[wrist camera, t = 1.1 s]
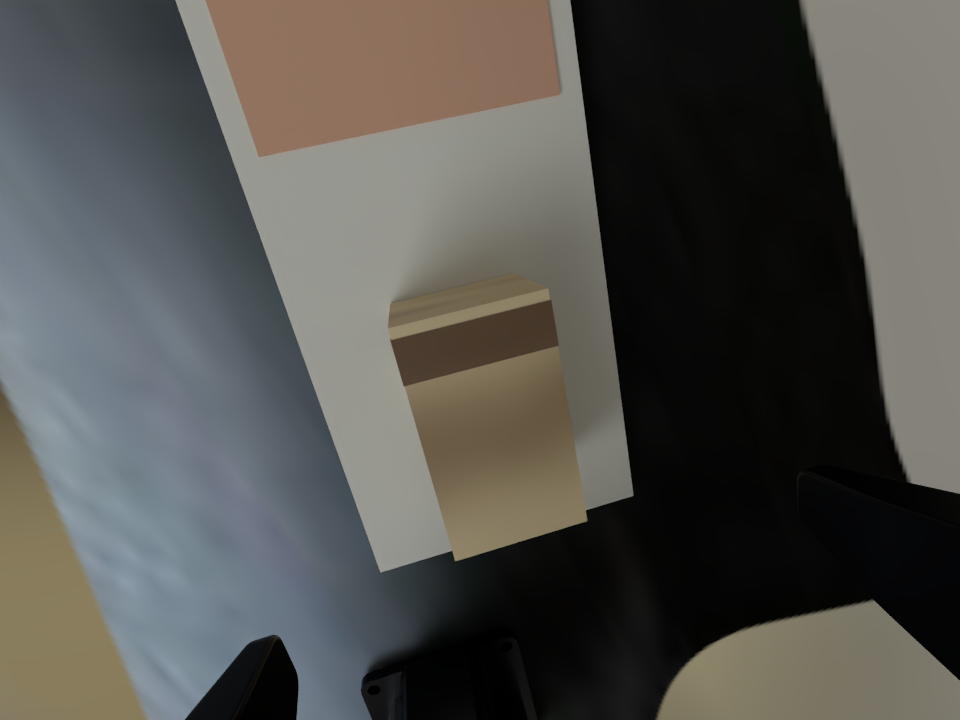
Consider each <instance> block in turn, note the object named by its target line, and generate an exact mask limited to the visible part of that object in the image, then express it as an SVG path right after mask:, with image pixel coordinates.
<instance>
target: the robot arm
mask: <svg viewBox="0 0 960 720" xmlns="http://www.w3.org/2000/svg"><path fill="white" fill-rule="evenodd" d="M797 511H798V515H799V517H800V519H801V520H802V522H803V523H804V525H805V526H806V527H807V528H808V529H809V530H810V531H811V533H812V534H813V535H814V536H815V537H816V538H817V539H818V540H819V541H820V542H821V543H822V544H823V546H824V547H825V548H826V549H827V550H828V551H829V552H830V553H831V554H832V555H833V556H834V558H835V559H836V560H837V561H838V562H839V563H840V564H841V565H842V566H843V567H844V568H845V569H846V571H847V572H848V573H849V574H850V575H851V576H852V577H853V578H854V579H855V580H856V581H857V583H858V584H859V585H860V586H861V587H862V588H863V589H864V590H865V591H866V592H867V593H868V594H869V595H870V596H871V597H872V598H873V599H874V600H875V601H876V603H878V604H879V605H880V606H881V607H882V608H883V609H884V610H885V611H886V612H887V613H888V614H889V615H890V616H891V617H892V618H893V619H894V620H895V621H896V622H897V623H898V624H900V625H901V626H902V627H903V628H904V629H905V630H906V631H907V632H908V633H909V634H910V635H911V636H912V637H914V638H915V639H916V640H917V641H918V642H919V643H920V644H921V645H922V646H923V647H924V648H925V649H926V650H928V651H929V652H930V653H931V654H932V655H933V656H934V657H935V658H936V659H937V660H938V661H939V662H940V663H942V664H943V665H944V666H945V667H946V668H947V669H948V670H949V671H950V672H951V673H952V674H953V675H955V676H956V677H957V678H958V679H959V680H960V494H957V493H953V492H948V491H943V490H939V489H935V488H930V487H925V486H921V485H916V484H912V483H907V482H903V481H898V480H893V479H889V478H884V477H880V476H875V475H871V474H866V473H861V472H857V471H852V470H848V469H843V468H838V467H834V466H829V465H818V466H814V467H811V468H808V469H805V470H802V471H801V472H800V473H799V475H798V477H797ZM505 642H507V643H505ZM374 685H375V686H374ZM361 693H362V696H363V699H364V701H365V703H366V706H367V708H368V711H369V713H370V715H371V718H372V720H537V716H536V712H535V708H534V704H533V700H532V696H531V692H530V688H529V684H528V680H527V676H526V672H525V668H524V665H523V661H522V657H521V653H520V649H519V645H518V641H517V638H516V634H515V633H514V631H512V630H510V629H503V630H499V631H496V632H493V633H490V634H487V635H484V636H481V637H478V638H475V639H472V640H468V641H465V642H462V643H459V644H456V645H453V646H450V647H447V648H444V649H441V650H438V651H435V652H431V653H428V654H425V655H422V656H419V657H416V658H413V659H410V660H407V661H404V662H401V663H397V664H394V665H391V666H388V667H385V668H382V669H379V670H376V671H373V672H370V673H368V674H366V675H365V676H364V677H363V680H362V687H361ZM297 702H298V676H297V672H296V670H295V667H294V665H293V663H292V661H291V659H290V657H289V655H288V652H287V650H286V648H285V646H284V644H283V642H282V640H281V638H280V637H279V636H277V635H271V636H268V637H264V638H261V639H258V640H255V641H252V642H250V643H249V644H248V645H247V646H246V647H245V648H244V649H243V650H242V651H241V652H240V654H239V655H238V656H237V657H236V658H235V660H234V661H233V662H232V663H231V665H230V666H229V667H228V668H227V669H226V671H225V672H224V673H223V674H222V675H221V677H220V678H219V679H218V680H217V681H216V683H215V684H214V685H213V686H212V687H211V689H210V690H209V691H208V692H207V693H206V695H205V696H204V697H203V698H202V699H201V701H200V702H199V703H198V704H197V706H196V707H195V708H194V709H193V710H192V712H191V713H190V714H189V715H188V716H187V718H186V719H185V720H296V716H297Z"/></svg>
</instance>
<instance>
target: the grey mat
mask: <svg viewBox="0 0 960 720" xmlns="http://www.w3.org/2000/svg"><path fill="white" fill-rule="evenodd" d="M175 1H176V3H177V6H178V9H179V12H180V14H181V17H182V20H183V23H184V26H185V28H186V31H187V34H188V37H189V40H190V42H191V45H192V48H193V51H194V54H195V56H196V59H197V62H198V65H199V67H200V70H201V73H202V76H203V79H204V81H205V84H206V87H207V90H208V93H209V95H210V98H211V101H212V104H213V107H214V109H215V112H216V115H217V118H218V120H219V123H220V126H221V129H222V132H223V134H224V137H225V140H226V143H227V146H228V148H229V151H230V154H231V157H232V160H233V162H234V165H235V168H236V171H237V173H238V176H239V179H240V182H241V185H242V187H243V190H244V193H245V196H246V199H247V201H248V204H249V207H250V210H251V213H252V215H253V218H254V221H255V224H256V226H257V229H258V232H259V235H260V238H261V240H262V243H263V246H264V249H265V252H266V254H267V257H268V260H269V263H270V265H271V268H272V271H273V274H274V277H275V279H276V282H277V285H278V288H279V291H280V293H281V296H282V299H283V302H284V305H285V307H286V310H287V313H288V316H289V318H290V321H291V324H292V327H293V330H294V332H295V335H296V338H297V341H298V344H299V346H300V349H301V352H302V355H303V358H304V360H305V363H306V366H307V369H308V371H309V374H310V377H311V380H312V383H313V385H314V388H315V391H316V394H317V397H318V399H319V402H320V405H321V408H322V411H323V413H324V416H325V419H326V422H327V424H328V427H329V430H330V433H331V436H332V438H333V441H334V444H335V447H336V450H337V452H338V455H339V458H340V461H341V463H342V466H343V469H344V472H345V475H346V477H347V480H348V483H349V486H350V489H351V491H352V494H353V497H354V500H355V503H356V505H357V508H358V511H359V514H360V516H361V519H362V522H363V525H364V528H365V530H366V533H367V536H368V539H369V542H370V544H371V547H372V550H373V553H374V556H375V558H376V561H377V564H378V567H379V569H380V572H384V571H387V570H390V569H394V568H397V567H400V566H403V565H407V564H410V563H413V562H417V561H420V560H423V559H427V558H430V557H433V556H436V555H440V554H443V553H446V552H450V551H452V548H451V545H450V541H449V538H448V534H447V531H446V528H445V524H444V521H443V517H442V514H441V510H440V507H439V503H438V500H437V497H436V493H435V490H434V486H433V483H432V479H431V476H430V472H429V469H428V466H427V462H426V459H425V455H424V452H423V448H422V445H421V441H420V438H419V435H418V431H417V428H416V424H415V421H414V417H413V414H412V410H411V407H410V404H409V400H408V397H407V393H406V390H405V386H403V383H402V379H401V376H400V372H399V369H398V365H397V362H396V359H395V355H394V352H393V348H392V345H391V341H390V335H389V331H388V320H389V309H390V304H391V303H395V302H399V301H403V300H407V299H411V298H415V297H419V296H423V295H427V294H431V293H436V292H440V291H444V290H448V289H452V288H456V287H460V286H464V285H468V284H472V283H476V282H480V281H484V280H489V279H493V278H497V277H501V276H505V275H509V274H513V273H515V274H517V275H519V276H521V277H524V278H526V279H528V280H531V281H533V282H535V283H537V284H540V285H542V286H544V287H547V288H548V289H549V295H550V300H551V301H552V307H553V313H554V319H555V325H556V331H557V337H558V343H559V346H558V349H559V355H560V361H561V367H562V373H563V379H564V385H565V391H566V397H567V402H568V408H569V414H570V420H571V426H572V432H573V438H574V444H575V450H576V456H577V462H578V468H579V474H580V480H581V486H582V492H583V498H584V504H585V510H588V509H591V508H595V507H598V506H601V505H605V504H608V503H611V502H615V501H618V500H621V499H624V498H628V497H631V496H633V488H632V480H631V472H630V465H629V457H628V449H627V441H626V433H625V425H624V418H623V410H622V402H621V394H620V386H619V378H618V371H617V363H616V355H615V347H614V339H613V331H612V324H611V316H610V308H609V300H608V292H607V284H606V277H605V269H604V261H603V253H602V245H601V238H600V230H599V222H598V214H597V206H596V198H595V191H594V183H593V175H592V167H591V159H590V151H589V144H588V136H587V128H586V120H585V112H584V104H583V97H582V89H581V81H580V73H579V65H578V58H577V50H576V42H575V34H574V26H573V18H572V11H571V3H570V0H175Z"/></svg>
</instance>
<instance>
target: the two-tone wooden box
mask: <svg viewBox="0 0 960 720" xmlns="http://www.w3.org/2000/svg"><path fill="white" fill-rule="evenodd" d="M388 331H389V335H390V341H391V345H392V348H393V352H394V355H395V359H396V362H397V365H398V369H399V372H400V376H401V379H402V383H403V386H405V390H406V393H407V397H408V400H409V404H410V407H411V410H412V414H413V417H414V421H415V424H416V428H417V431H418V435H419V438H420V441H421V445H422V448H423V452H424V455H425V459H426V462H427V466H428V469H429V472H430V476H431V479H432V483H433V486H434V490H435V493H436V497H437V500H438V503H439V507H440V510H441V514H442V517H443V521H444V524H445V528H446V531H447V534H448V538H449V541H450V545H451V548H452V552H453V555H454V559H455V561H458V560H461V559H465V558H468V557H471V556H475V555H478V554H481V553H484V552H488V551H491V550H494V549H497V548H501V547H504V546H507V545H511V544H514V543H517V542H520V541H524V540H527V539H530V538H533V537H537V536H540V535H543V534H547V533H550V532H553V531H556V530H560V529H563V528H566V527H569V526H573V525H576V524H579V523H582V522H586V521H587V516H586V510H585V504H584V498H583V492H582V486H581V480H580V474H579V468H578V462H577V456H576V450H575V444H574V438H573V432H572V426H571V420H570V414H569V408H568V402H567V397H566V391H565V385H564V379H563V373H562V367H561V361H560V355H559V349H558V346H559V343H558V337H557V331H556V325H555V319H554V313H553V307H552V301H551V300H550V295H549V289H548V288H547V287H544V286H542V285H540V284H537V283H535V282H533V281H531V280H528V279H526V278H524V277H521V276H519V275H517V274H515V273H513V274H509V275H505V276H501V277H497V278H493V279H489V280H484V281H480V282H476V283H472V284H468V285H464V286H460V287H456V288H452V289H448V290H444V291H440V292H436V293H431V294H427V295H423V296H419V297H415V298H411V299H407V300H403V301H399V302H395V303H391V304H390V309H389V320H388Z"/></svg>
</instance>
